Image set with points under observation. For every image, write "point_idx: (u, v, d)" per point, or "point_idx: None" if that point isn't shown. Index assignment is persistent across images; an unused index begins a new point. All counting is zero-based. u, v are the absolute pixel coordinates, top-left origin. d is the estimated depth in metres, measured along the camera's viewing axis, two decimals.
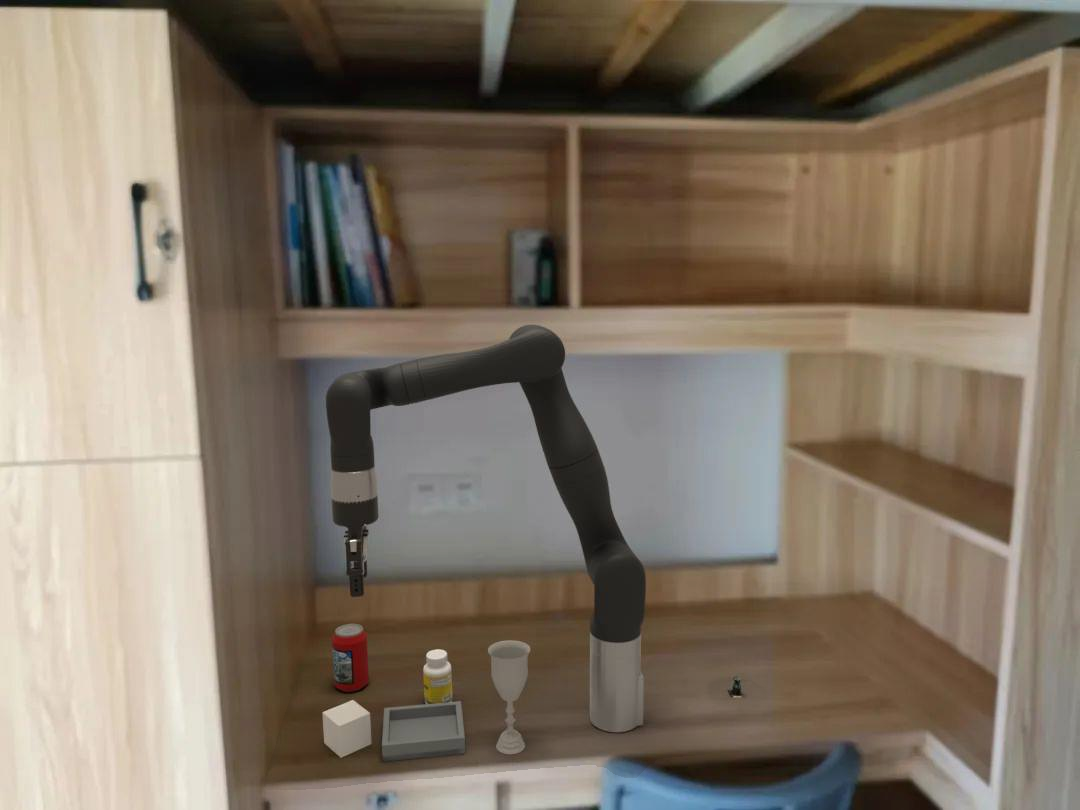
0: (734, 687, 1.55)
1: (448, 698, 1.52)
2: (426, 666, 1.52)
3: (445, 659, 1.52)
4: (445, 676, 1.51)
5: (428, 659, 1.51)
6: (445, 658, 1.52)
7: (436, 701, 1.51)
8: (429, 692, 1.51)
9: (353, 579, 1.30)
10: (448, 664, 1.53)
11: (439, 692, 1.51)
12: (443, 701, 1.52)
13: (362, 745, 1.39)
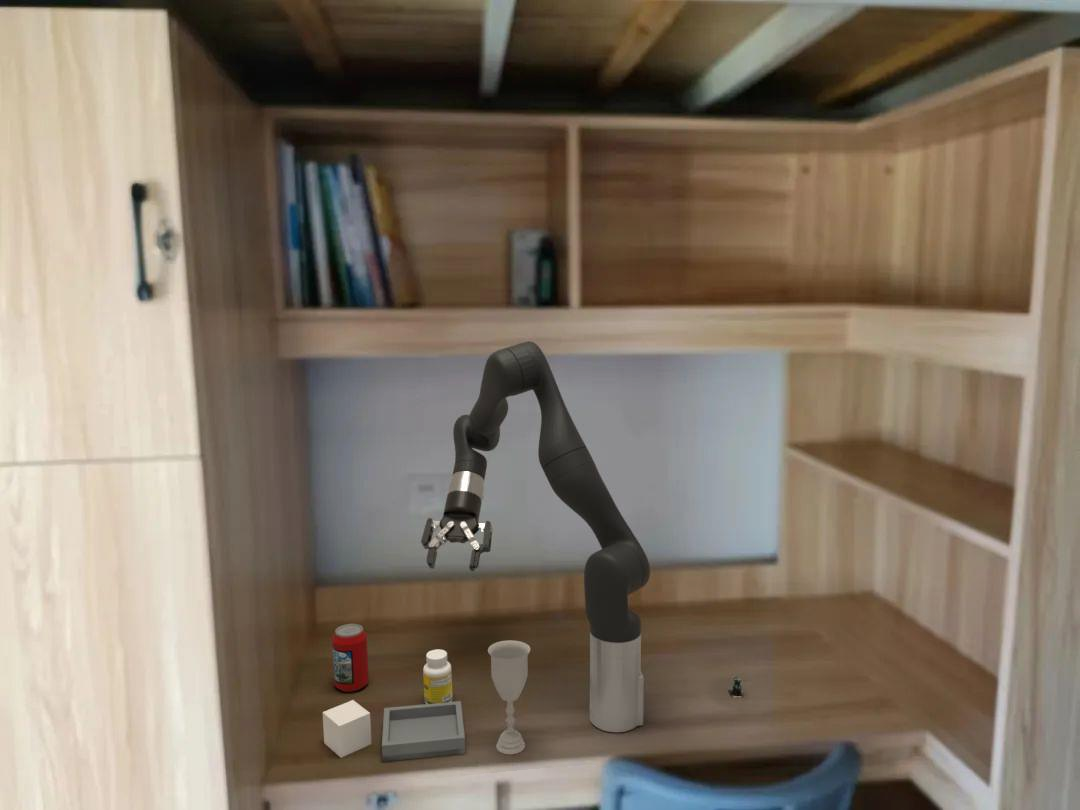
0: (734, 687, 1.55)
1: (448, 698, 1.52)
2: (426, 666, 1.52)
3: (445, 659, 1.52)
4: (445, 676, 1.51)
5: (428, 659, 1.51)
6: (445, 658, 1.52)
7: (436, 701, 1.51)
8: (429, 692, 1.51)
9: None
10: (448, 664, 1.53)
11: (439, 692, 1.51)
12: (443, 701, 1.52)
13: (362, 745, 1.39)
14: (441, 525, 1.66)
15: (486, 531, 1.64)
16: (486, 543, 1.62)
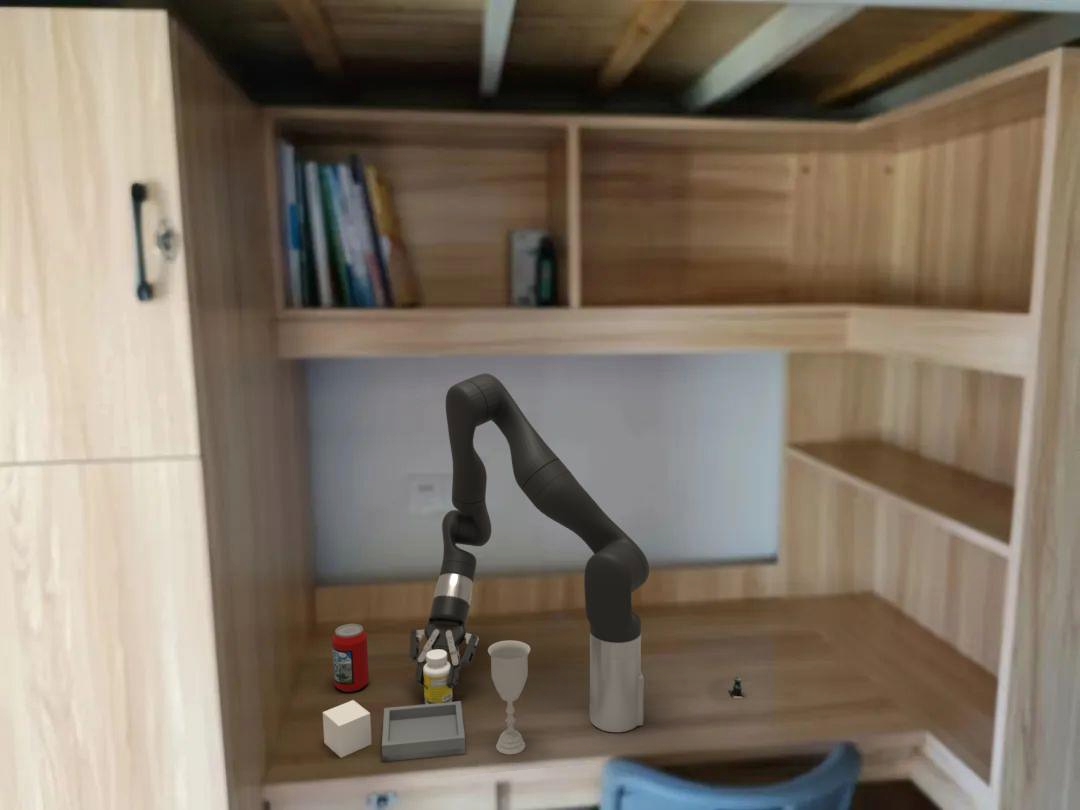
0: (735, 688, 1.54)
1: (448, 697, 1.52)
2: (426, 666, 1.52)
3: (445, 658, 1.52)
4: (445, 676, 1.51)
5: (428, 659, 1.51)
6: (445, 658, 1.52)
7: (436, 701, 1.51)
8: (429, 691, 1.51)
9: None
10: (448, 664, 1.53)
11: (439, 692, 1.51)
12: (443, 701, 1.52)
13: (362, 745, 1.39)
14: (427, 633, 1.57)
15: (470, 645, 1.54)
16: (466, 658, 1.53)
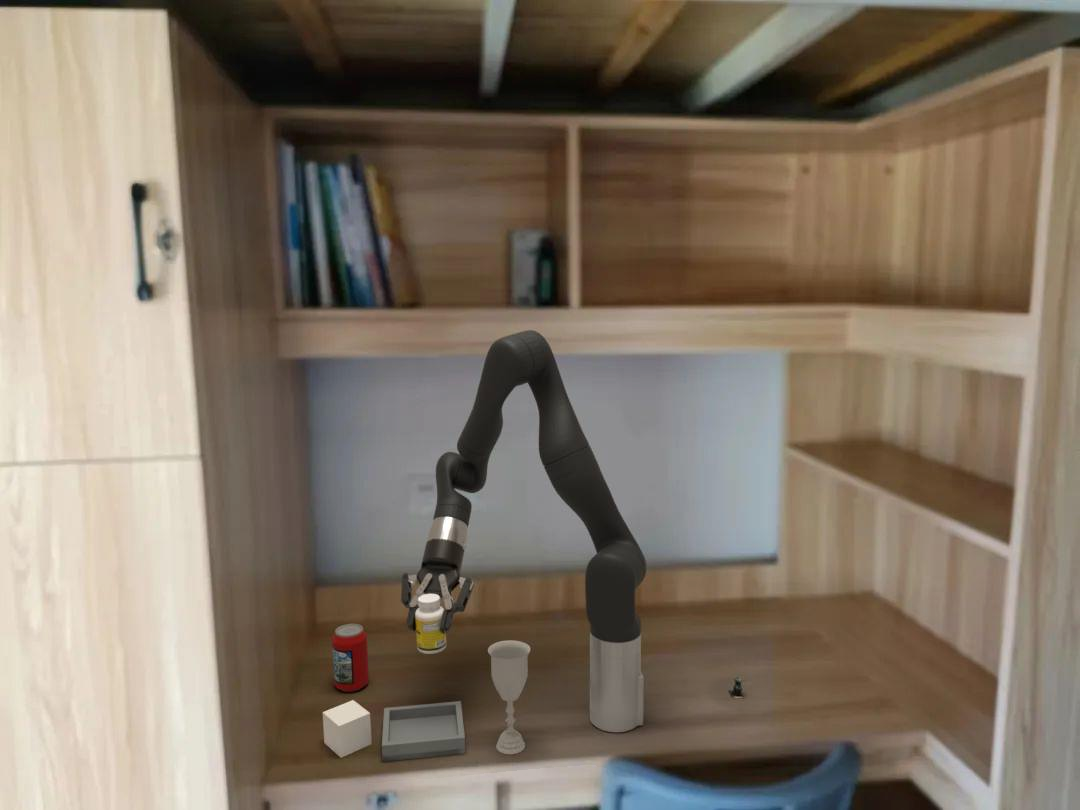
0: (735, 688, 1.54)
1: (441, 643, 1.45)
2: (418, 610, 1.45)
3: (438, 602, 1.45)
4: (437, 620, 1.44)
5: (420, 603, 1.44)
6: (438, 602, 1.45)
7: (429, 647, 1.44)
8: (421, 637, 1.44)
9: None
10: (441, 608, 1.46)
11: (431, 637, 1.44)
12: (436, 647, 1.44)
13: (362, 745, 1.39)
14: (419, 578, 1.50)
15: (464, 589, 1.47)
16: (459, 602, 1.45)
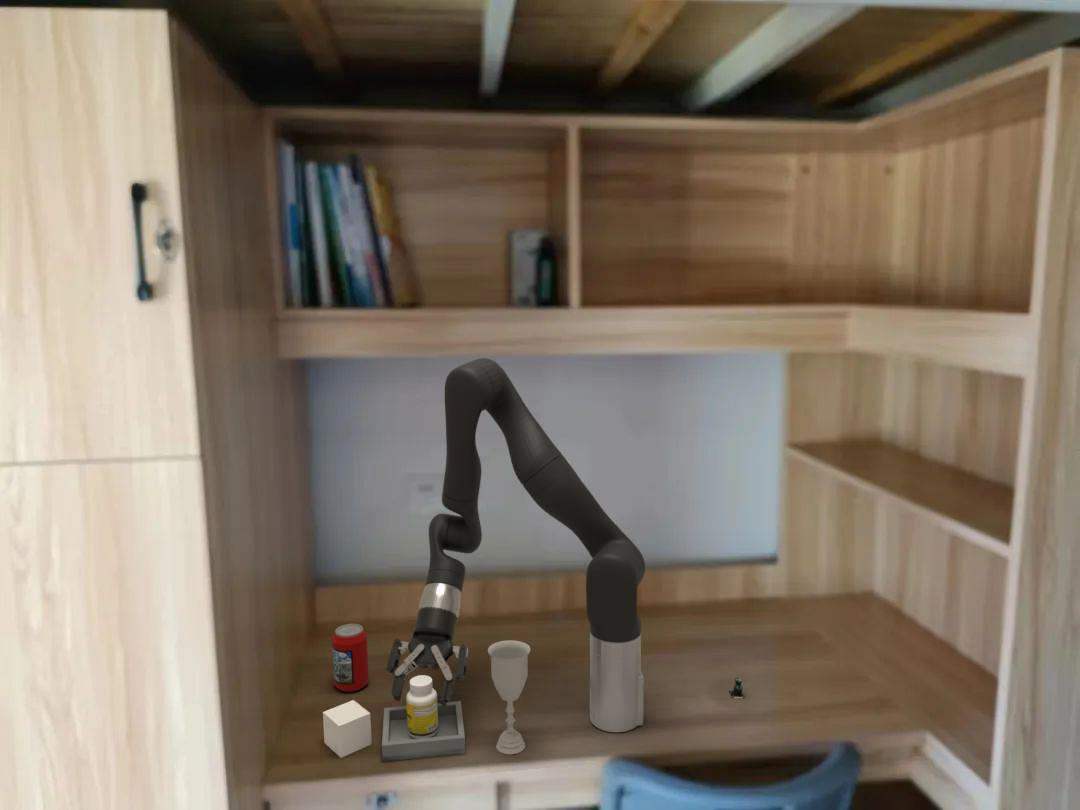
0: (735, 688, 1.54)
1: (433, 728, 1.40)
2: (409, 694, 1.40)
3: (431, 685, 1.40)
4: (430, 704, 1.39)
5: (412, 686, 1.39)
6: (430, 685, 1.40)
7: (420, 732, 1.39)
8: (413, 722, 1.39)
9: None
10: (433, 691, 1.41)
11: (423, 722, 1.39)
12: (428, 732, 1.40)
13: (362, 745, 1.39)
14: (410, 648, 1.44)
15: (461, 657, 1.42)
16: (460, 672, 1.40)
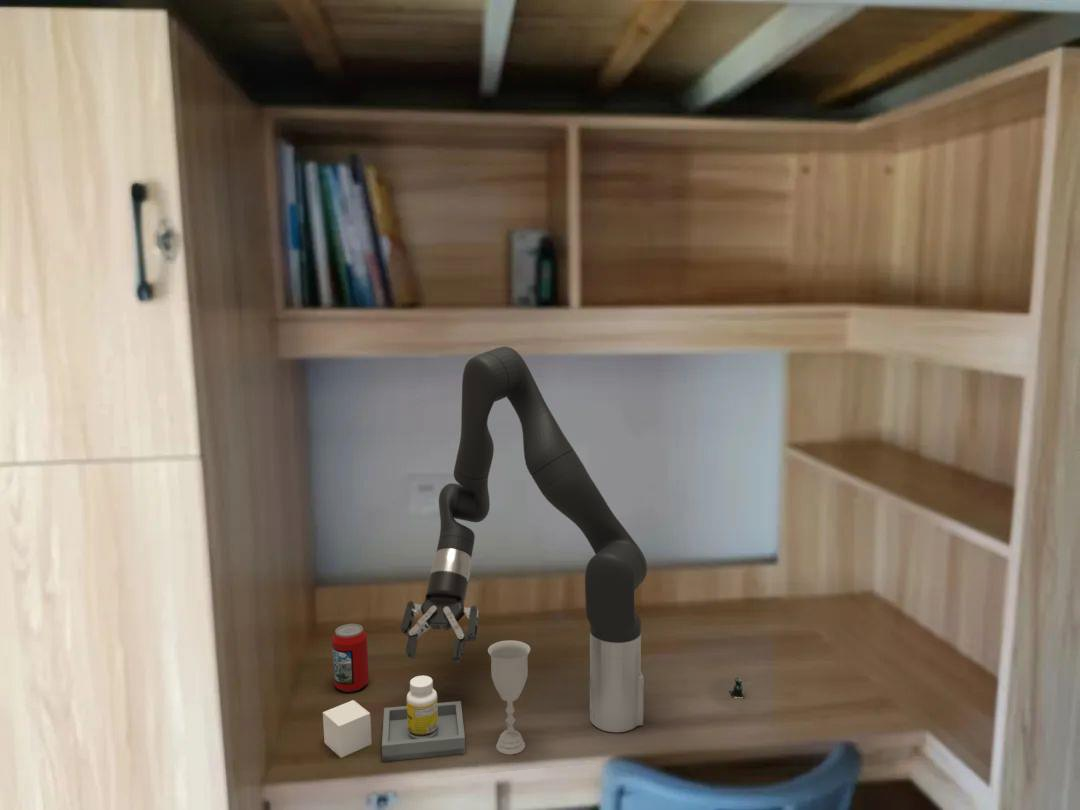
0: (735, 688, 1.54)
1: (433, 728, 1.40)
2: (410, 694, 1.40)
3: (431, 686, 1.40)
4: (430, 705, 1.39)
5: (412, 687, 1.39)
6: (430, 685, 1.40)
7: (420, 732, 1.39)
8: (413, 722, 1.39)
9: None
10: (434, 692, 1.41)
11: (424, 722, 1.39)
12: (428, 732, 1.39)
13: (362, 745, 1.39)
14: (423, 610, 1.51)
15: (472, 617, 1.48)
16: (471, 632, 1.47)
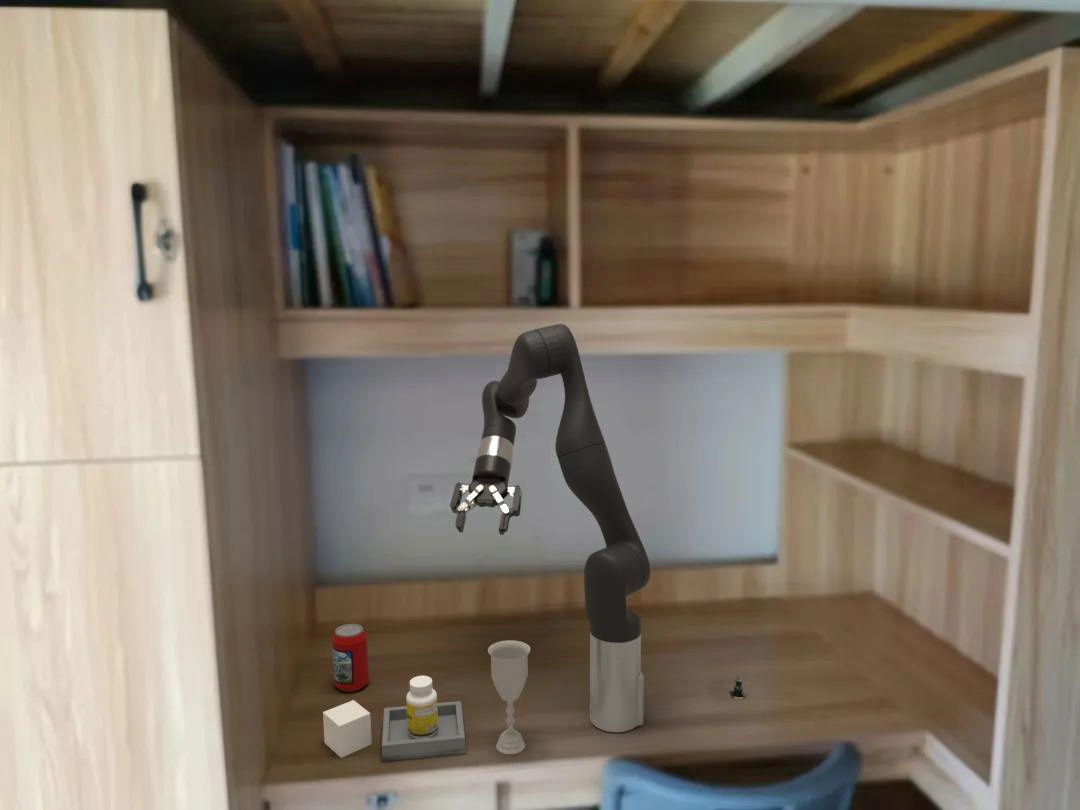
0: (736, 688, 1.54)
1: (433, 728, 1.40)
2: (409, 694, 1.40)
3: (431, 686, 1.40)
4: (430, 705, 1.39)
5: (412, 687, 1.39)
6: (430, 685, 1.40)
7: (420, 732, 1.39)
8: (413, 722, 1.39)
9: None
10: (433, 692, 1.41)
11: (424, 723, 1.39)
12: (428, 732, 1.40)
13: (362, 745, 1.39)
14: (470, 489, 1.64)
15: (515, 495, 1.61)
16: (516, 507, 1.60)
